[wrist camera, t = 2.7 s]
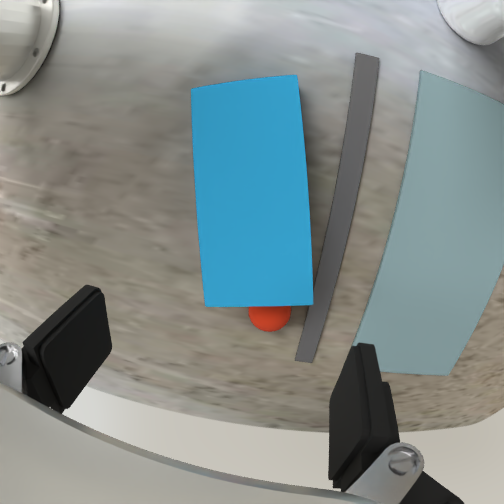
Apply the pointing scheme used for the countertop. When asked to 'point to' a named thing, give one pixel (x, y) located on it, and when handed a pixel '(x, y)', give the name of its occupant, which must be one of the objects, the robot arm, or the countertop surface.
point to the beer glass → (475, 19)
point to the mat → (440, 233)
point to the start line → (341, 201)
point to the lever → (252, 197)
